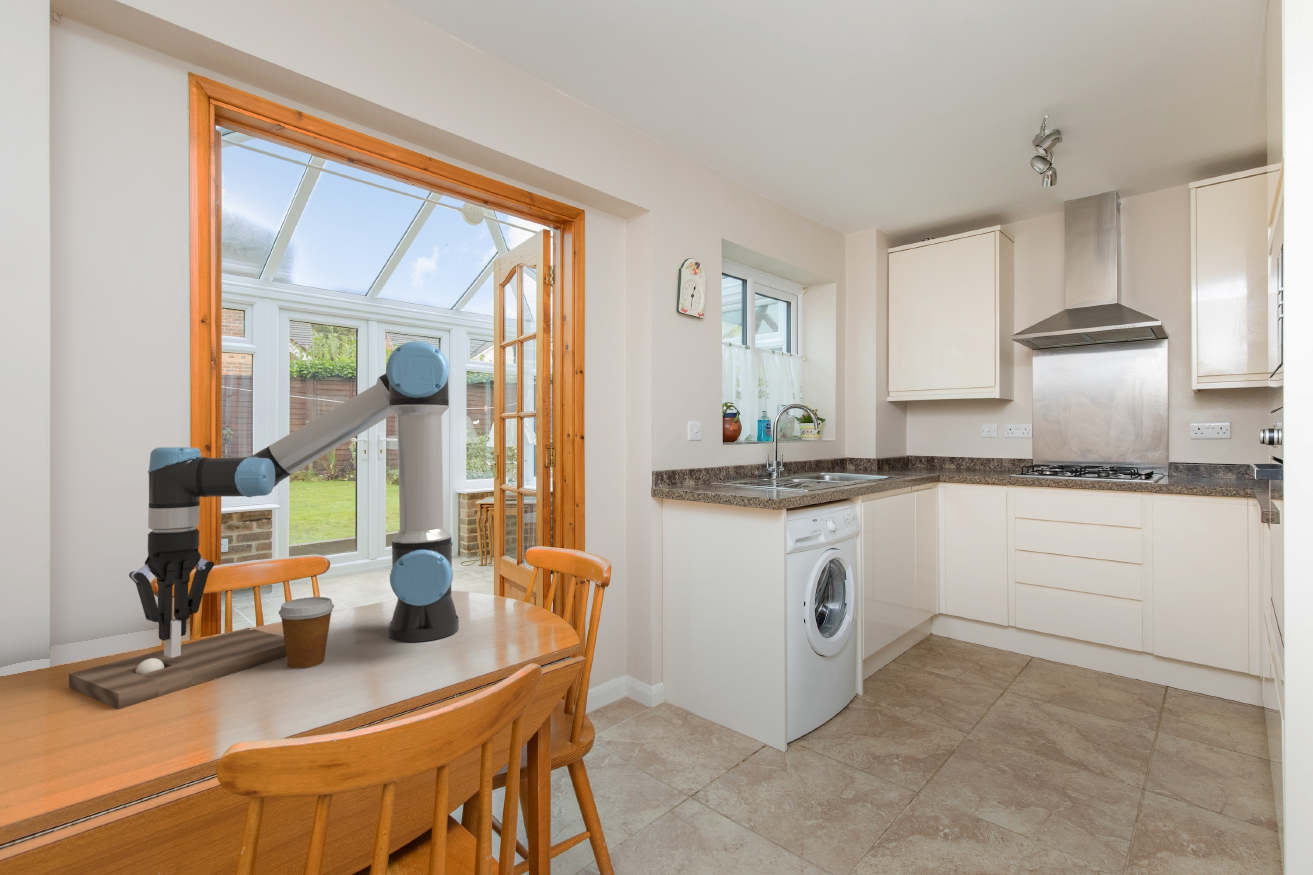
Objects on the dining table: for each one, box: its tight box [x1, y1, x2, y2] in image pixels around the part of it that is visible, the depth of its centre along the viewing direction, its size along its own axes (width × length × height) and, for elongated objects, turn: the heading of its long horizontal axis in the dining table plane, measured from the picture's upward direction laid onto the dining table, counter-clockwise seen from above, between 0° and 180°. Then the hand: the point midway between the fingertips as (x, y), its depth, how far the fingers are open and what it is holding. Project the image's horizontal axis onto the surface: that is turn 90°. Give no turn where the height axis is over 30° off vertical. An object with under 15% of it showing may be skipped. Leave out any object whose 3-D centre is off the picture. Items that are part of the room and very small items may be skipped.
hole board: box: [68, 627, 287, 710], centre depth 115 cm, size 18×30×2 cm, turn 153°
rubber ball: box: [136, 658, 164, 675], centre depth 109 cm, size 4×4×4 cm
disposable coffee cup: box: [278, 596, 335, 669], centre depth 119 cm, size 10×10×12 cm
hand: (172, 655), depth 112 cm, fingers closed
